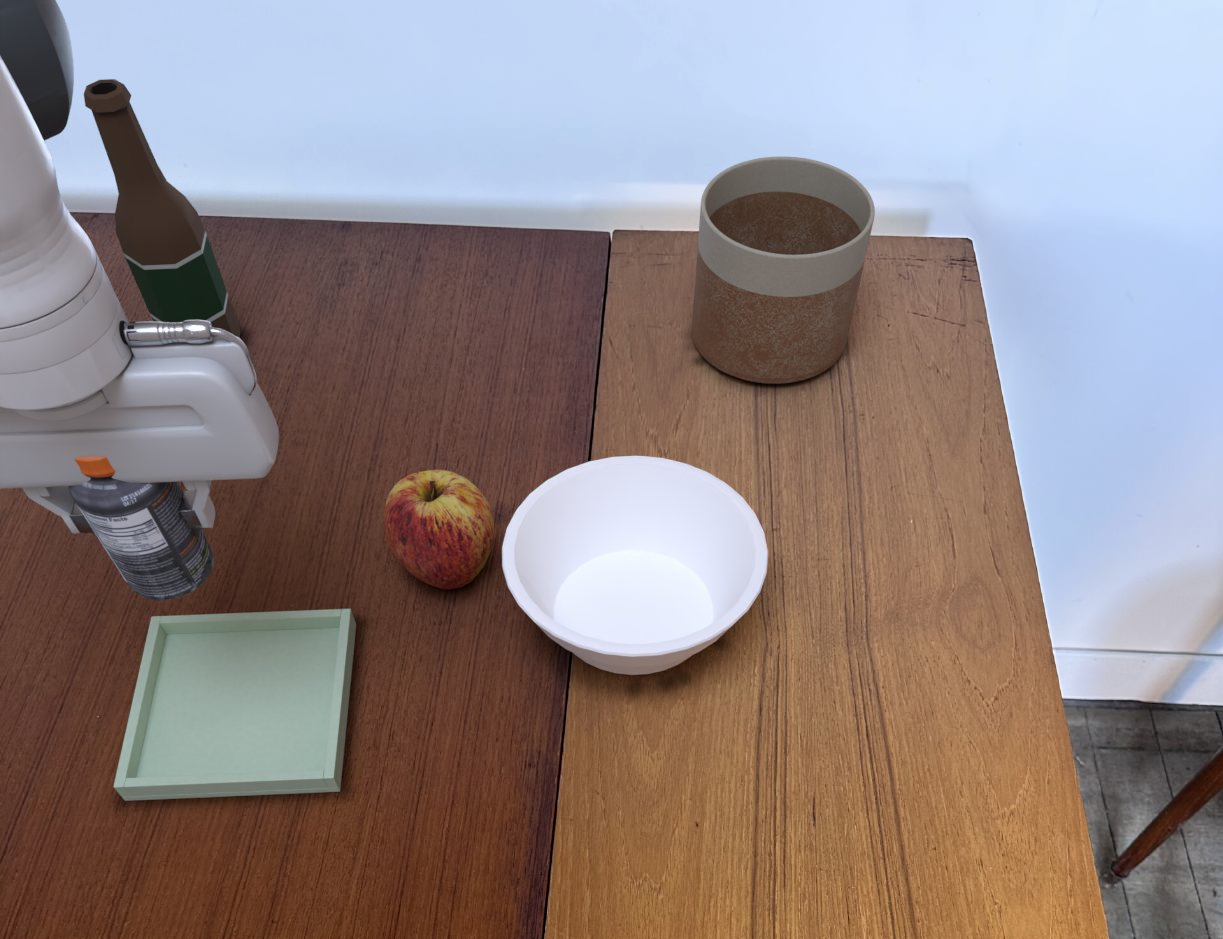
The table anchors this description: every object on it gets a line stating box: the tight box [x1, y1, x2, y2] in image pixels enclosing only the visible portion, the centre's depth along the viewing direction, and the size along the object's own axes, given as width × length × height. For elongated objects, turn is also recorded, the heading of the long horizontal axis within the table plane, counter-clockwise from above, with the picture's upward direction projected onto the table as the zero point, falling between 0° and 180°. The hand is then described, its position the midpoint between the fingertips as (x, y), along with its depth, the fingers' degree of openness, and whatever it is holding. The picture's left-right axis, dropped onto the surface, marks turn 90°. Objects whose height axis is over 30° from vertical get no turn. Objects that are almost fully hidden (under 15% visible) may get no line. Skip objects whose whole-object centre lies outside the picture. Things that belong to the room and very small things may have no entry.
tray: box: [113, 608, 357, 802], centre depth 81 cm, size 17×17×2 cm
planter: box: [691, 155, 876, 385], centre depth 98 cm, size 16×16×14 cm
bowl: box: [501, 455, 769, 676], centre depth 83 cm, size 21×21×8 cm
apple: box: [383, 469, 496, 591], centre depth 85 cm, size 9×9×10 cm
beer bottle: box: [83, 78, 242, 339], centre depth 94 cm, size 8×8×24 cm
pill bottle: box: [67, 456, 215, 601], centre depth 63 cm, size 6×6×11 cm
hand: (145, 523), depth 65 cm, fingers closed on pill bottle, 6 cm apart
